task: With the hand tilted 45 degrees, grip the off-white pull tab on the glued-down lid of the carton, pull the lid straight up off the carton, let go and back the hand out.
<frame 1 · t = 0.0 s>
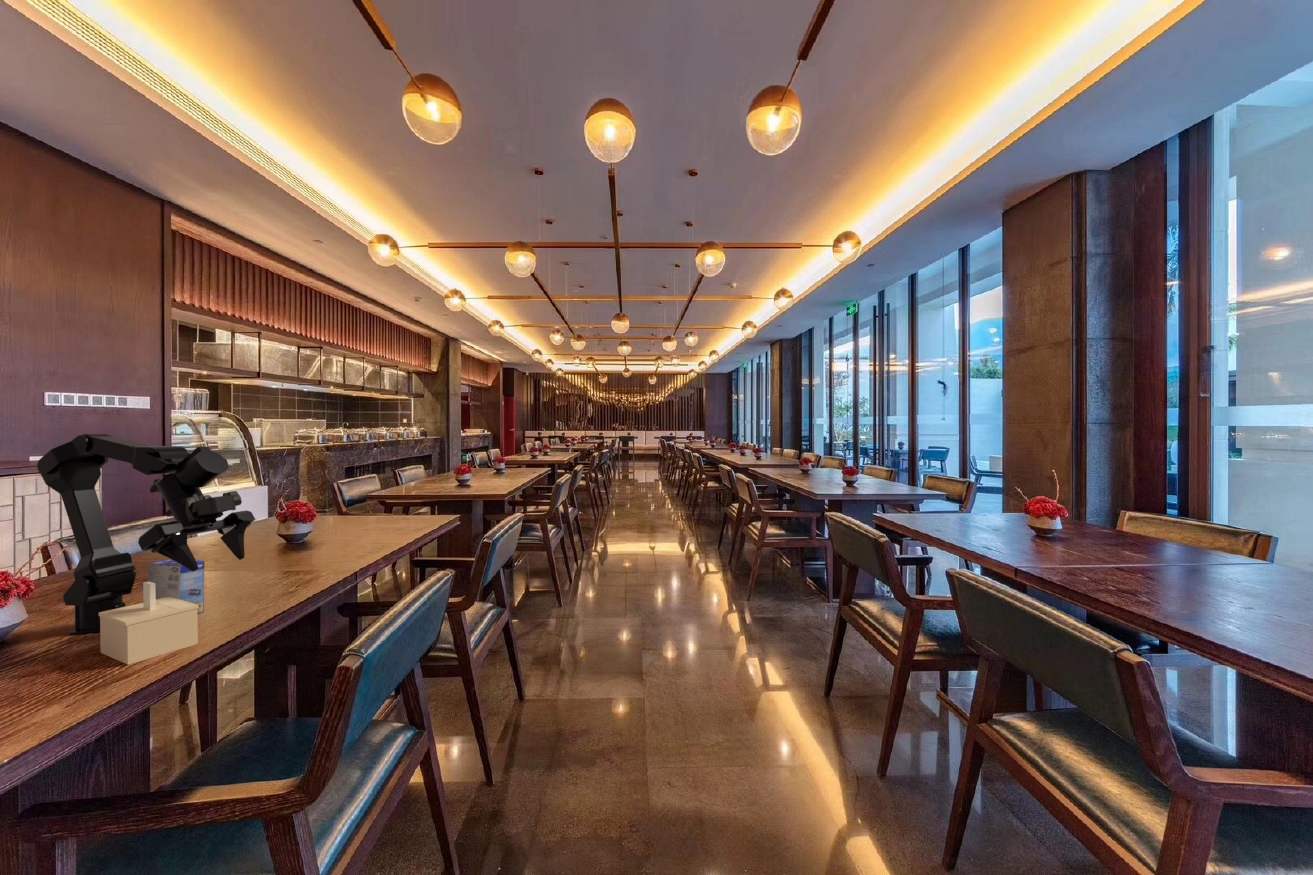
hand: (220, 564, 103), 15 cm above the table, tool tilted 35°, fingers open, 9 cm apart
carton: (150, 648, 98), on the table
ink cartridge box: (177, 615, 117), on the table
carton lid: (149, 597, 98), point 10 cm above the table, slide at 0.0 cm
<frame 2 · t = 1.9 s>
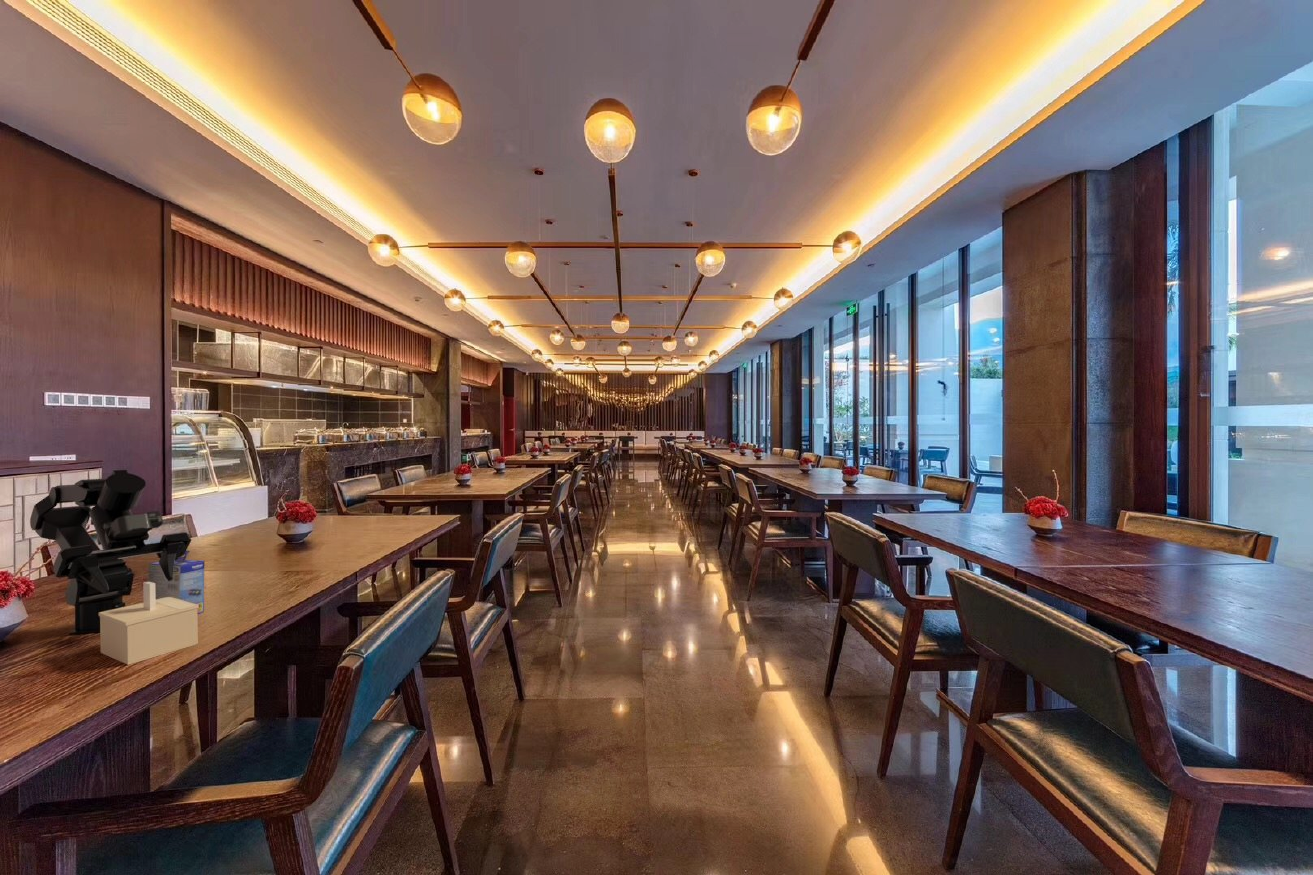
hand: (140, 585, 99), 12 cm above the table, tool tilted 45°, fingers open, 9 cm apart
nothing on the table moved.
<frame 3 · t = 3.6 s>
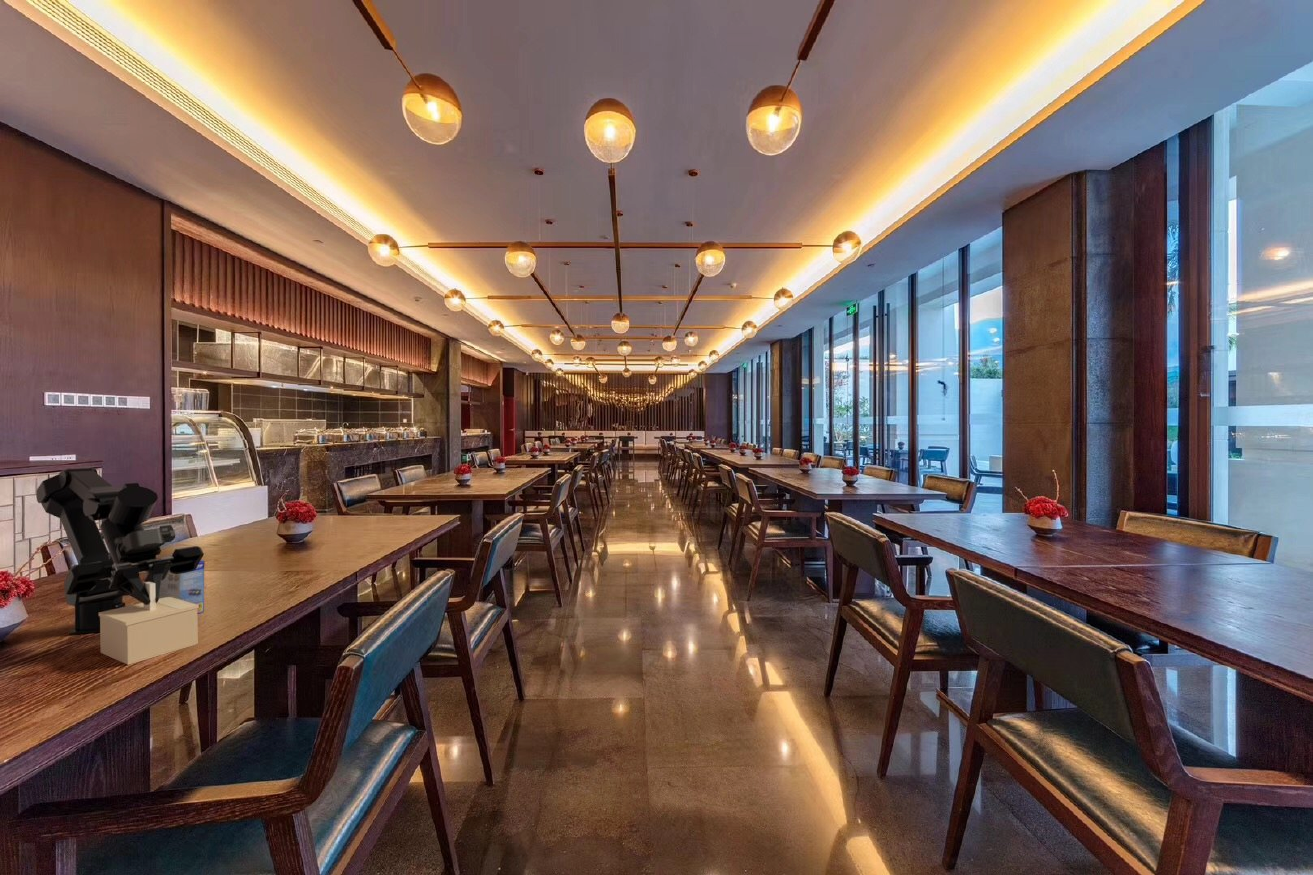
hand: (152, 602, 97), 9 cm above the table, tool tilted 45°, fingers closed, pressing on carton lid
carton lid: (149, 597, 98), point 10 cm above the table, slide at 0.0 cm, touching gripper
everything else where it was.
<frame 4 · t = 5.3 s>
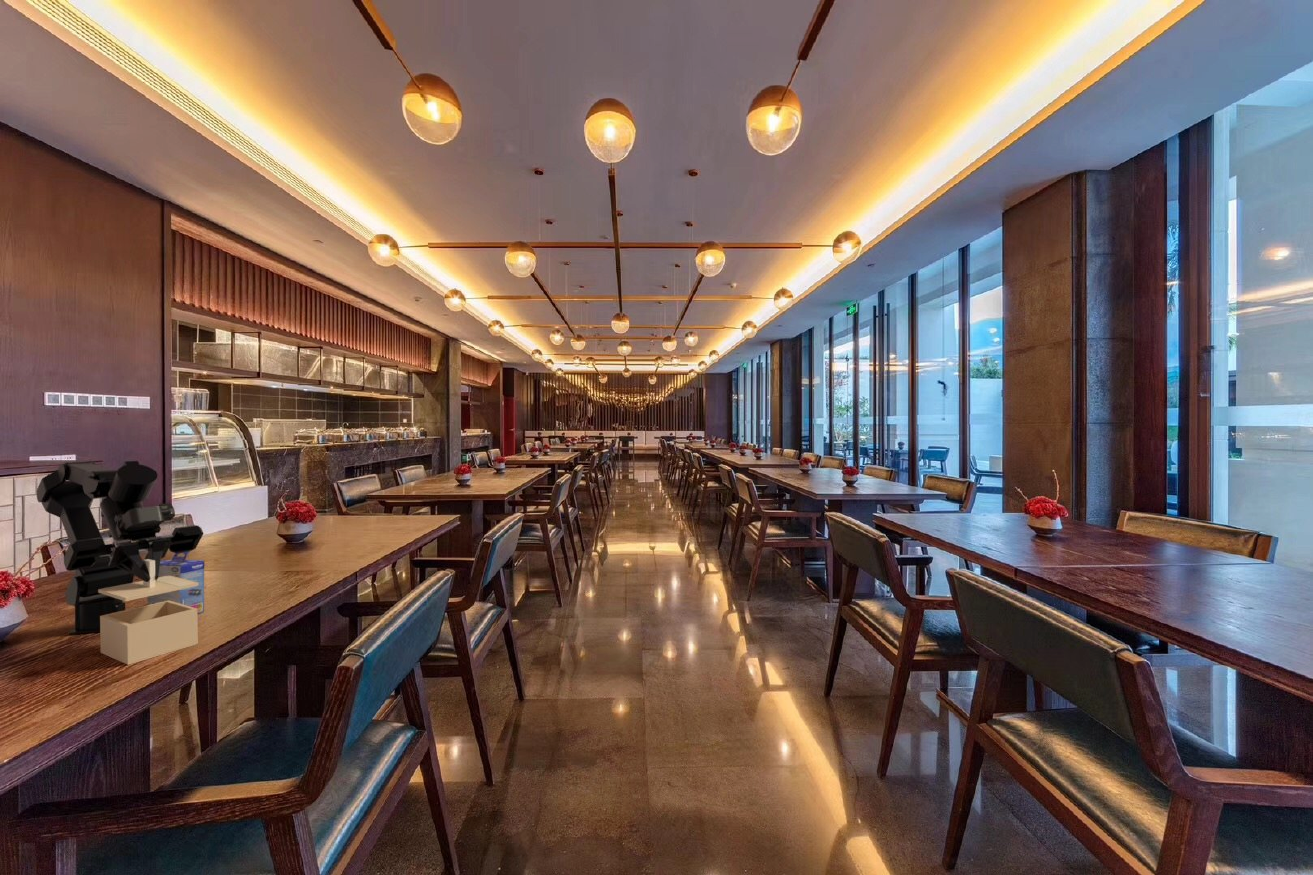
hand: (152, 579, 97), 14 cm above the table, tool tilted 45°, fingers closed, pressing on carton lid
carton lid: (149, 574, 98), point 14 cm above the table, slide at 4.4 cm, touching gripper
everything else where it was.
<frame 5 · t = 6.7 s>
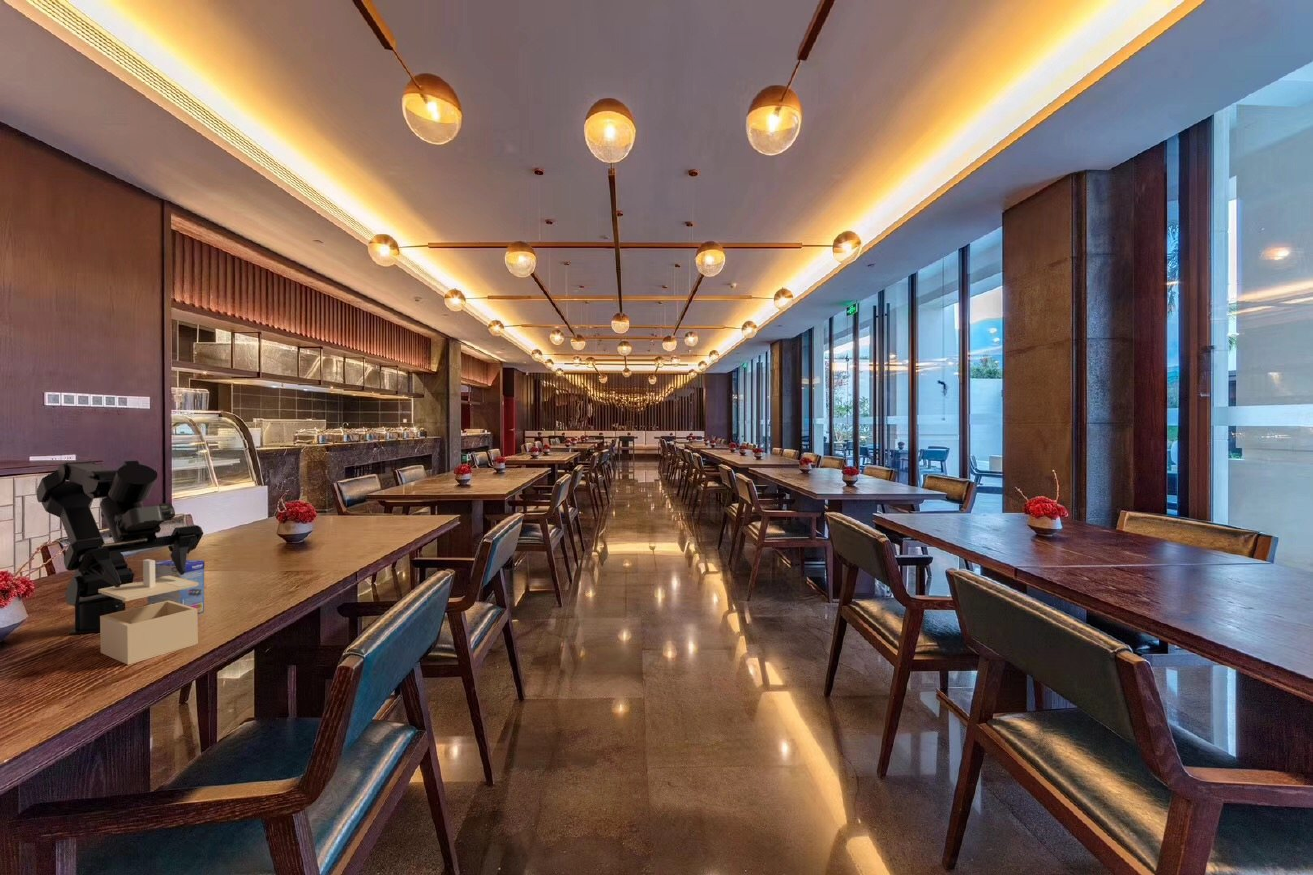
hand: (152, 579, 97), 14 cm above the table, tool tilted 45°, fingers open, 9 cm apart
carton lid: (149, 574, 98), point 14 cm above the table, slide at 4.4 cm
everything else where it was.
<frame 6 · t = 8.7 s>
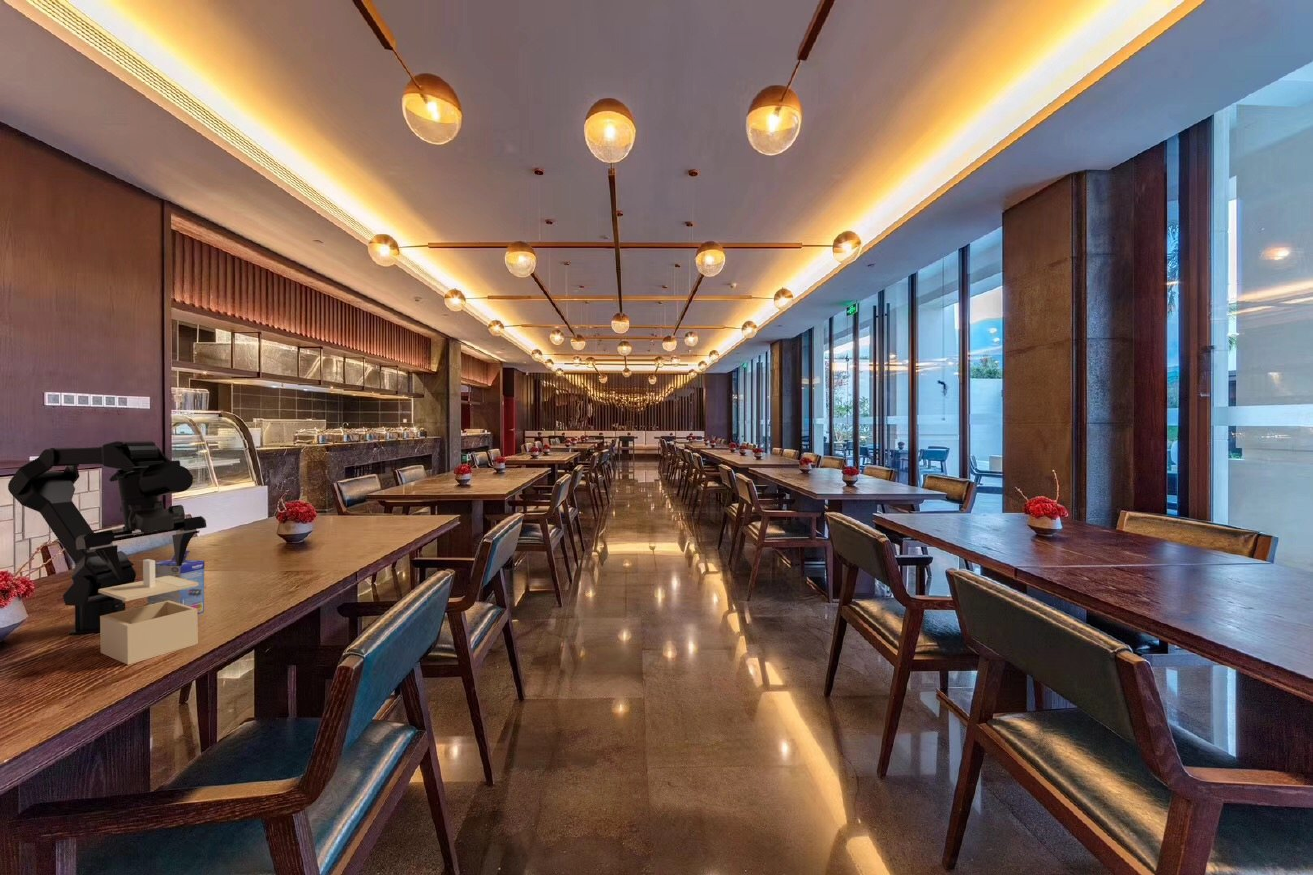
hand: (151, 572, 106), 12 cm above the table, tool pointing down, fingers open, 9 cm apart
nothing on the table moved.
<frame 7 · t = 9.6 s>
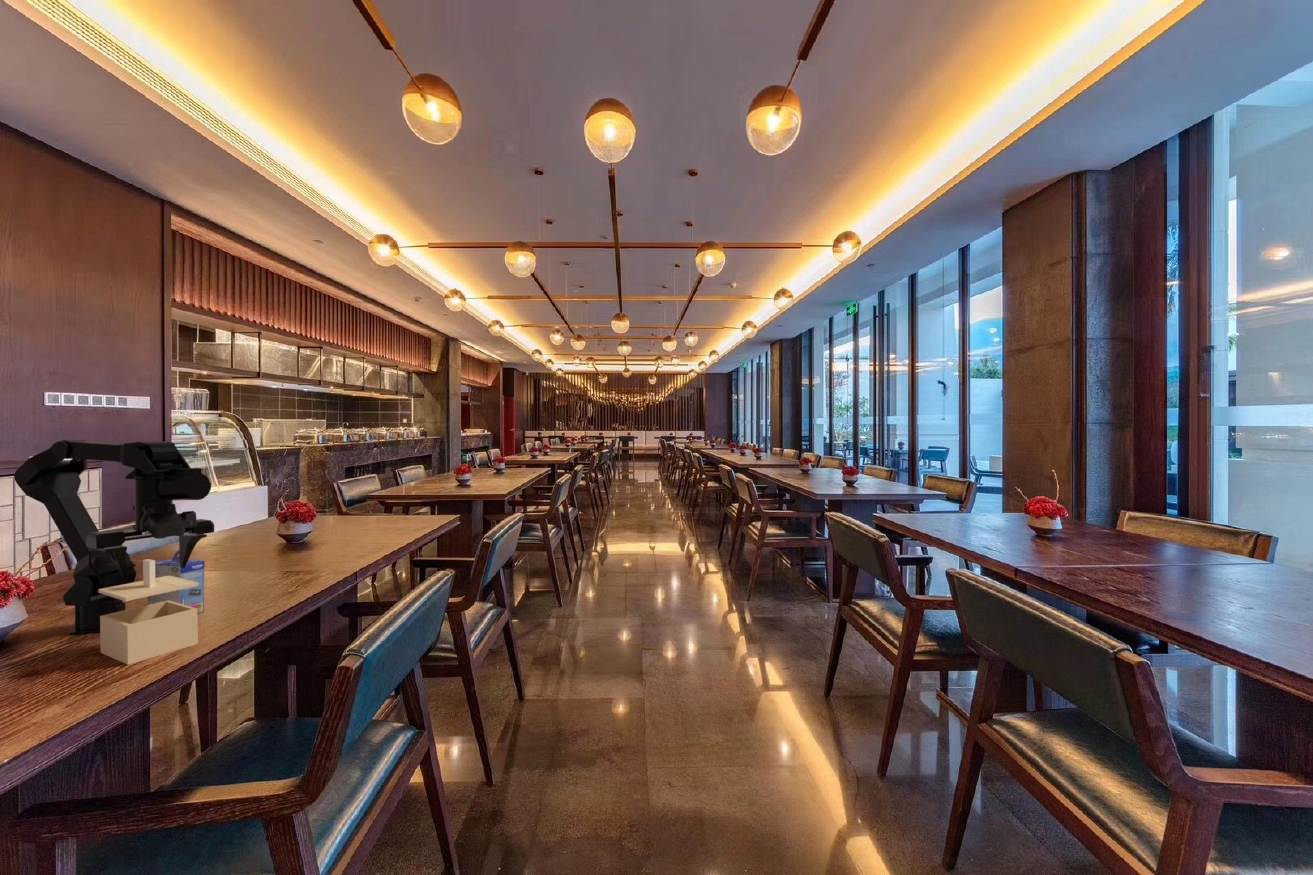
hand: (155, 573, 107), 12 cm above the table, tool pointing down, fingers open, 9 cm apart
nothing on the table moved.
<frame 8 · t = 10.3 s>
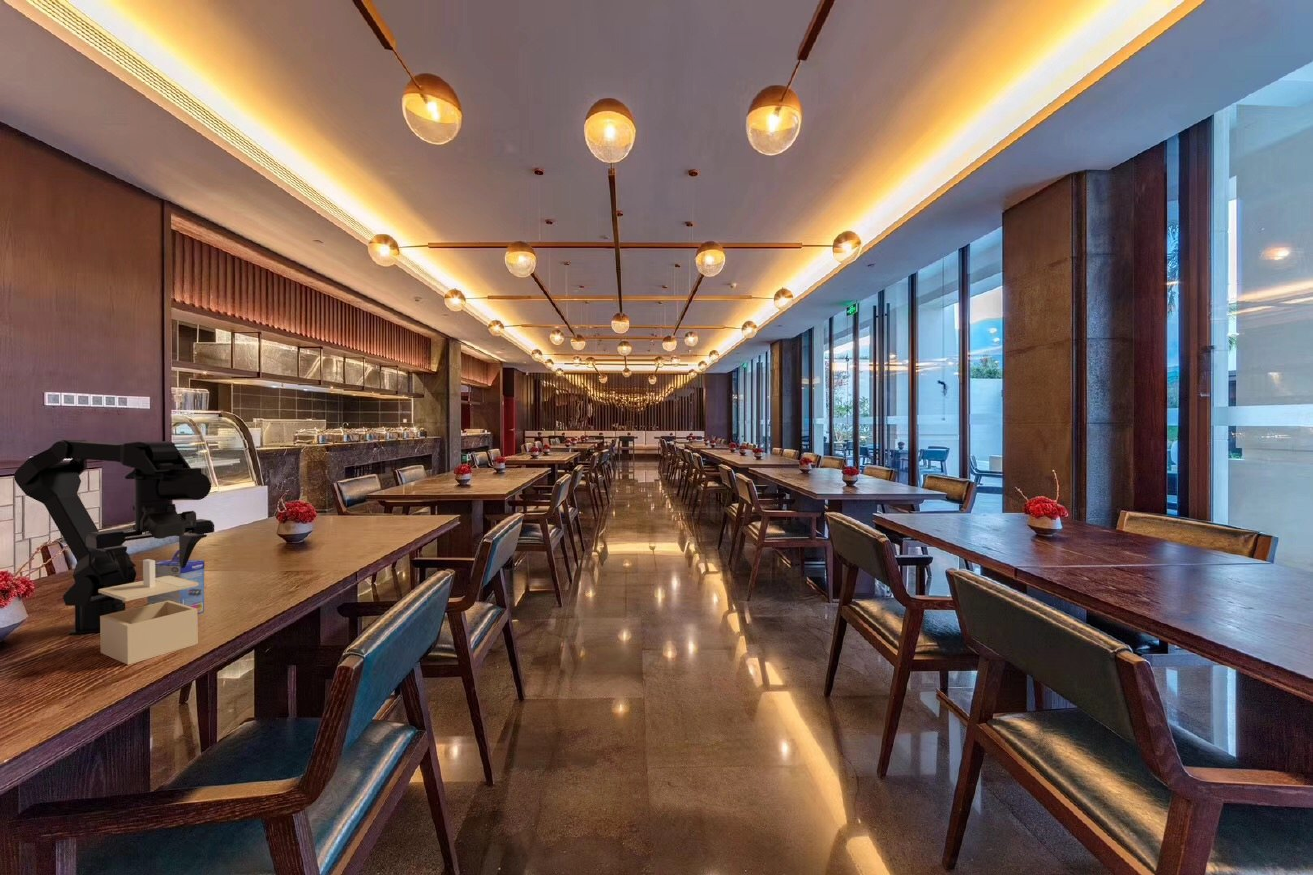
hand: (155, 573, 107), 12 cm above the table, tool pointing down, fingers open, 9 cm apart
nothing on the table moved.
at the end: carton lid slide at 4.4 cm; the gripper is holding nothing; ink cartridge box moved 0.3 cm from its start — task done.
